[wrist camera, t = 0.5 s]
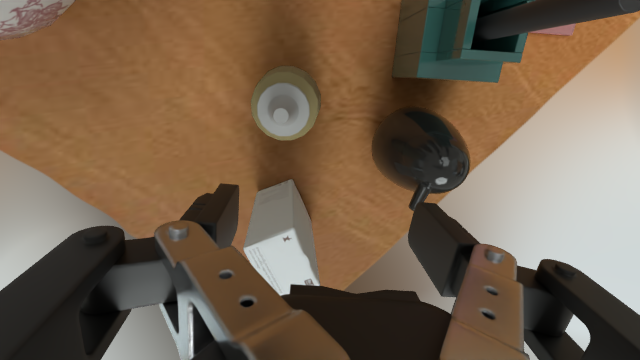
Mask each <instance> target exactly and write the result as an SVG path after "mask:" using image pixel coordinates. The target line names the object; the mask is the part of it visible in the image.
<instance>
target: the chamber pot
mask: <svg viewBox="0 0 640 360" xmlns="http://www.w3.org/2000/svg"><path fill="white" fill-rule="evenodd" d="M74 1H75V0H0V40H6V39H14V38H20V37H23V36H25V35H28V34H30V33H33V32H35V31H38V30H40V29H43V28H45V27H48V26H50V25H52V24H53V23H54V22H55V21H56V20H57V19H58V18H59V17H60V16H61V15H62V14H63V13H64V12H65V11H66V9H67V8H68V7H69V6H70V5H71V4H72V3H73V2H74Z"/></svg>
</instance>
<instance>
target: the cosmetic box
mask: <svg viewBox="0 0 640 360" xmlns="http://www.w3.org/2000/svg"><path fill="white" fill-rule="evenodd" d="M243 250H244V252H245V254H246V255H247V257H248V259H249V261H250V263H251V264H252V266H253V267H254V268H255V269H256V270H257V271H258V272H259V274H260V275H261V276H262V277H263V278H264V279H265V280H266V281H267V282H268V283H269V284H270V285H271V286H272V287H273V289H274V290H275V291H276V292H277V293H278V294H279V295H280V296H281V295H285V294H290V285H291V284H296V285H312V286H320V281H319V273H318V266H317V260H316V253H315V245H314V239H313V232H312V224H311V219H310V217H309V215H308V212H307V210H306V208H305V205H304V203H303V201H302V199H301V196H300V194H299V192H298V190H297V188H296V186H295V184H294V181H293V179H290V180H288V181H285V182H282V183H280V184H277V185H274V186H271V187H269V188H266V189H263V190H261V191H258V192H257V194H256V198H255V203H254V207H253V211H252V215H251V219H250V223H249V227H248V232H247V236H246V240H245V244H244V248H243Z"/></svg>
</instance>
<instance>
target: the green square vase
mask: <svg viewBox="0 0 640 360" xmlns="http://www.w3.org/2000/svg"><path fill="white" fill-rule="evenodd" d="M532 1H535V0H402V3H401V10H400V18H399V25H398V33H397V41H396V49H395V57H394V64H393V72H392V77H398V78H414V79H430V80H446V81H466V82H493V83H498V81H499V77H500V73H501V68H502V64H505V63H520V62H521V58H522V53H523V50H524V46H525V42H526V39H527V35H528V32H527V33H522V34H517V35H512V36H506V37H501V38H496V39H490V40H485V41H480V42H474V43H472V40H473V35H474V30H475V25H476V21H477V19H478V18H482V17H485V16H488V15H491V14H494V13H497V12H500V11H504V10H507V9H510V8H513V7H516V6H519V5H522V4H526V3H529V2H532Z"/></svg>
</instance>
